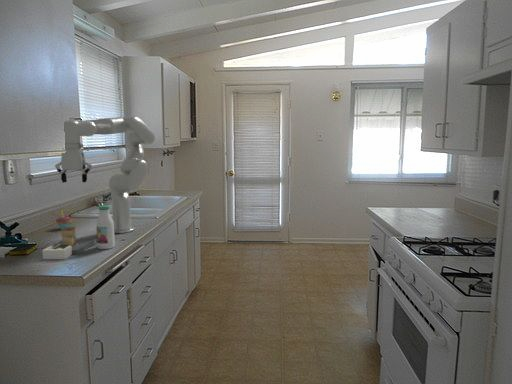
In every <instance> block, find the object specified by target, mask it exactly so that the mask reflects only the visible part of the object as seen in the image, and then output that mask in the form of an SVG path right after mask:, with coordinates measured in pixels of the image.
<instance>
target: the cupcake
mask: <svg viewBox="0 0 512 384" xmlns="http://www.w3.org/2000/svg"><path fill="white" fill-rule="evenodd" d="M60 211H61V212H60V213H61V216H59V217H58V218H56V220H55V223H56V224H57V225H58V227H59V229H60V230H61V229H62V228H64V227H71V225H72V223H73V218H72V217H70V216H65V215H64V212H63V208H61V209H60Z"/></svg>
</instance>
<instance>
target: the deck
mask: <svg viewBox="0 0 512 384" xmlns="http://www.w3.org/2000/svg"><path fill="white" fill-rule="evenodd" d="M59 244H62V240H61V241H58V242H57V243H55V244H53V245H52V246H53V247H55V246H57V245H59ZM76 244H79V246H77V247H76V248H74V249H72V255H80V254H81V253H82V252H83V251H85V250H87V249H88V248H90V247H91V246H92V245H93V244H94V242H93V240H76ZM76 244H74V245H76ZM74 245H73V246H74ZM73 246H72V247H73ZM66 247H68V246H63V245H61V246H60V247H58V248H62V249H64V248H66ZM56 249H57V248H56Z"/></svg>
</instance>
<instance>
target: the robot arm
mask: <svg viewBox="0 0 512 384" xmlns="http://www.w3.org/2000/svg"><path fill="white" fill-rule="evenodd" d="M64 121H65V122H64V132H65V150H67V151H66V152H65V153H62V152H61V159H60V160H61V161H60V162H58V163H56V164H55V165H54V167H55V169H56V171H57V172H58V173H59V174H60V176H61V177H60V178H61V183H67V180H68V179H67V171H80V172H81V173H82V174H81V180H82V183H87V180H88V173H89V172H90V171H91V168H92V166H93V165H92V164H91V163H88V162H86V158H85V154H84V150H83V149H82V148H84V144H82V143H81V137H92V136H94V135H102V136H103V135H105V136H107V135H115V134H123V133H124V134H125V133H127V141H128V143H129V151H128V153H127V155H126V157H125V158H124V160H123V161H122V163H121V165H120V173H121V174H118V173H117V174H114V175H112V176H111V177H110V178H109V181H108V187H109V190H110V196H111V209H112V210H111V211H112V220H113V224H114V234H123V233H126V234H127V233H130V232H132V231H134V230H135V227H134V226H133V225H132V220H131V219H132V217H131V216H132V215H131V199H130V198H131V197H130V195H129V193H133V194H134V193H135V192H137V191H138V190H139V189H140V187H141V185H142V183H143V181H144V180H145V178H146V176H147V174H148V171H149V165H148V163H147V162H146V160H145V159H144V158H145V150H144V147H143V146H145V145H146V146H149V145H152V144H153V143H154V142H155V138H156V137H155V133H154V132H153V130H152V129H151V128H150V127H149V126H148V125H147V124H146V123H145V121H143V120H142V119H140V118H139V117H137V116H119V117H118V116H117V117H105V118H96V119H89V120H88V119H87V120H64ZM60 167H61V168H60Z"/></svg>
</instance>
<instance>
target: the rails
mask: <svg viewBox="0 0 512 384" xmlns="http://www.w3.org/2000/svg"><path fill="white" fill-rule="evenodd" d="M61 245H62V244H59V245H57V246H55V247H53V249H56V248H58V247H60V246H61ZM77 246H79V244H76V245H74V246H73V247H72V249H74V248H76V247H77Z"/></svg>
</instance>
